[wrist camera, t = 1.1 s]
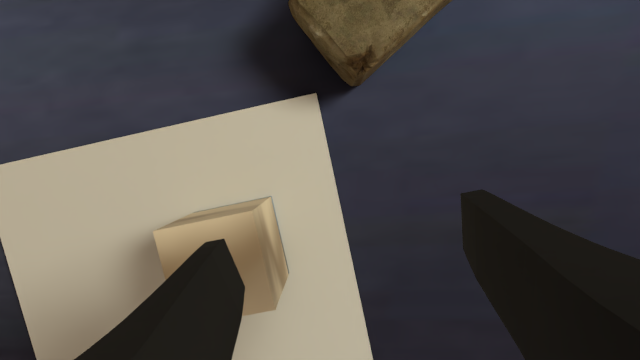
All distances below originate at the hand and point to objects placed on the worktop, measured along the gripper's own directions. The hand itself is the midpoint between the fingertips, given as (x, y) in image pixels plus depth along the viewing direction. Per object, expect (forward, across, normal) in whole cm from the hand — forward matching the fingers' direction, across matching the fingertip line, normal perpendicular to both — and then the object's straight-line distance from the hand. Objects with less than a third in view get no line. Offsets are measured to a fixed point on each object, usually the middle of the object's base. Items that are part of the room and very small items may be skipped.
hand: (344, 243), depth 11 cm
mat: (+9, +12, +7) cm, 16 cm away
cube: (+9, +7, +6) cm, 13 cm away
